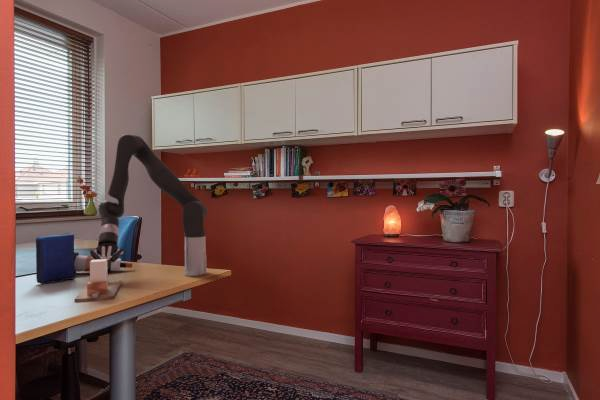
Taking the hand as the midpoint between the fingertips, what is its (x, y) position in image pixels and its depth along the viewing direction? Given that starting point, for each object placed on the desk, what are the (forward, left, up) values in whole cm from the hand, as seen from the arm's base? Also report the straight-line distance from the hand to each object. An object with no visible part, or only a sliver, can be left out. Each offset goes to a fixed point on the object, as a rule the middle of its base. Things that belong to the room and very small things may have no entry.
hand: (105, 269), depth 153 cm
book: (+20, -13, -6) cm, 25 cm away
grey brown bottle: (+9, -28, -6) cm, 30 cm away
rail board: (0, +12, -6) cm, 13 cm away
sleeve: (0, +15, -5) cm, 16 cm away
